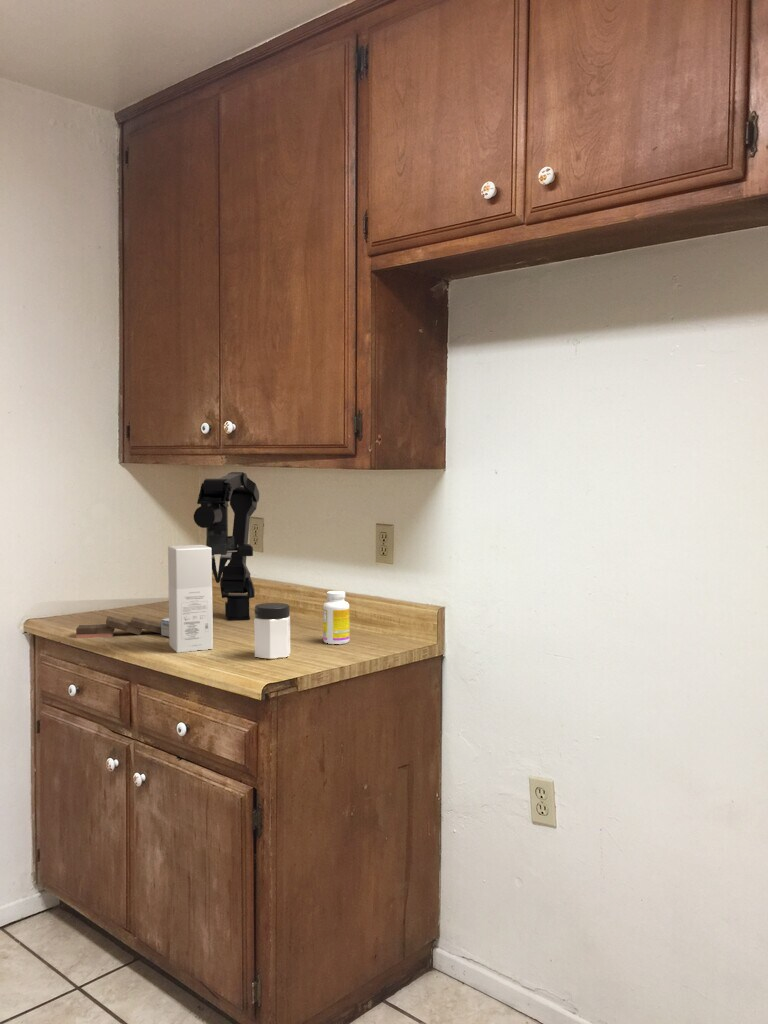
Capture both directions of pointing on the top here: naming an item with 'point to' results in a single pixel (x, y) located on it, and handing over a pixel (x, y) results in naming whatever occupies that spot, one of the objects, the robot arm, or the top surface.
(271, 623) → the jar
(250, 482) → the robot arm
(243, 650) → the top surface
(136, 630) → the tile
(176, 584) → the tall white carton
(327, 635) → the supplement bottle
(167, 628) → the medicine box
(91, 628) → the tile
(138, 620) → the tile
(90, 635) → the tile
